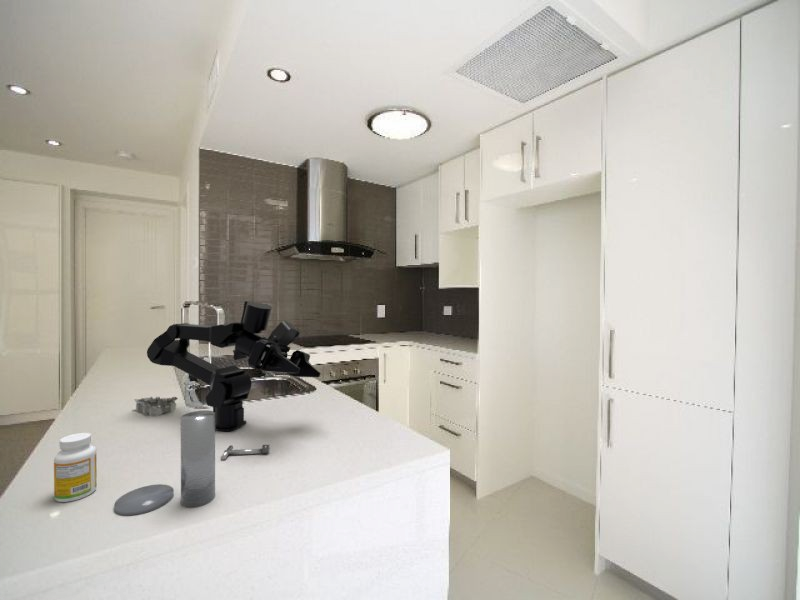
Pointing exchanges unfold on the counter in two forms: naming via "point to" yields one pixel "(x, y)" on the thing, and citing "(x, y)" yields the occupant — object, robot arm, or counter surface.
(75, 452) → the supplement bottle
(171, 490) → the coaster
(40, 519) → the counter surface
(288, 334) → the robot arm
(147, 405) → the egg carton
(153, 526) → the counter surface
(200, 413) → the grey cylindrical piece
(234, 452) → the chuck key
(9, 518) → the counter surface
